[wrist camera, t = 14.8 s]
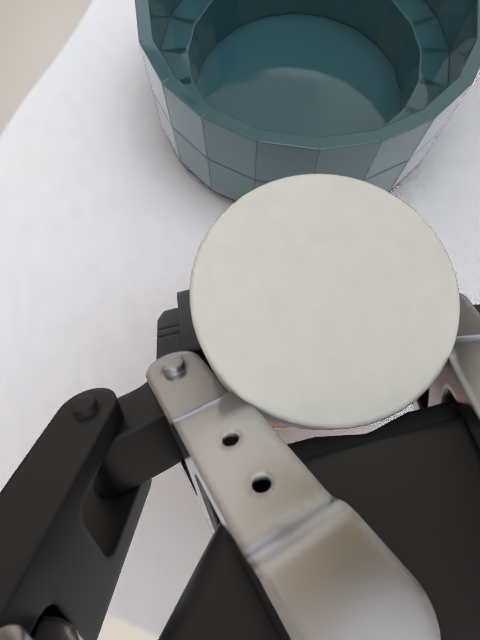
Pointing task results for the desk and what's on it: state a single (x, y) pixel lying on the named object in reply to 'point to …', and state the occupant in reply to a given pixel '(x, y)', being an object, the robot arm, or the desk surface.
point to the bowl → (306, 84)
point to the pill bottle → (324, 302)
